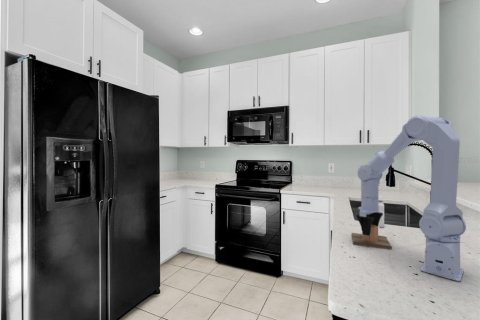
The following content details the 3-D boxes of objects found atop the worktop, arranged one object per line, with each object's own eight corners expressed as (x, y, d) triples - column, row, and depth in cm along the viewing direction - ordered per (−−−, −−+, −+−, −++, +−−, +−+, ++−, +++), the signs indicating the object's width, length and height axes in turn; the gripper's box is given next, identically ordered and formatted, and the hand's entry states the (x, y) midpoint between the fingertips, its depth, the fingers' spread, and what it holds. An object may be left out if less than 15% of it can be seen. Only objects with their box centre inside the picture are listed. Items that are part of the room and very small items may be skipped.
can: (376, 228, 105) (376, 202, 105) (365, 224, 111) (365, 200, 111) (387, 227, 106) (387, 201, 107) (376, 223, 113) (375, 199, 113)
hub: (375, 242, 83) (375, 228, 83) (360, 239, 87) (360, 225, 87) (379, 239, 87) (379, 226, 87) (365, 236, 91) (365, 223, 91)
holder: (391, 249, 79) (391, 235, 79) (353, 244, 84) (353, 230, 84) (385, 239, 90) (385, 226, 90) (351, 235, 95) (351, 223, 95)
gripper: (365, 194, 95) (365, 227, 95) (350, 197, 85) (351, 234, 85) (384, 196, 90) (385, 230, 90) (371, 200, 80) (371, 238, 80)
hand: (369, 232), depth 87 cm, fingers open, 7 cm apart
